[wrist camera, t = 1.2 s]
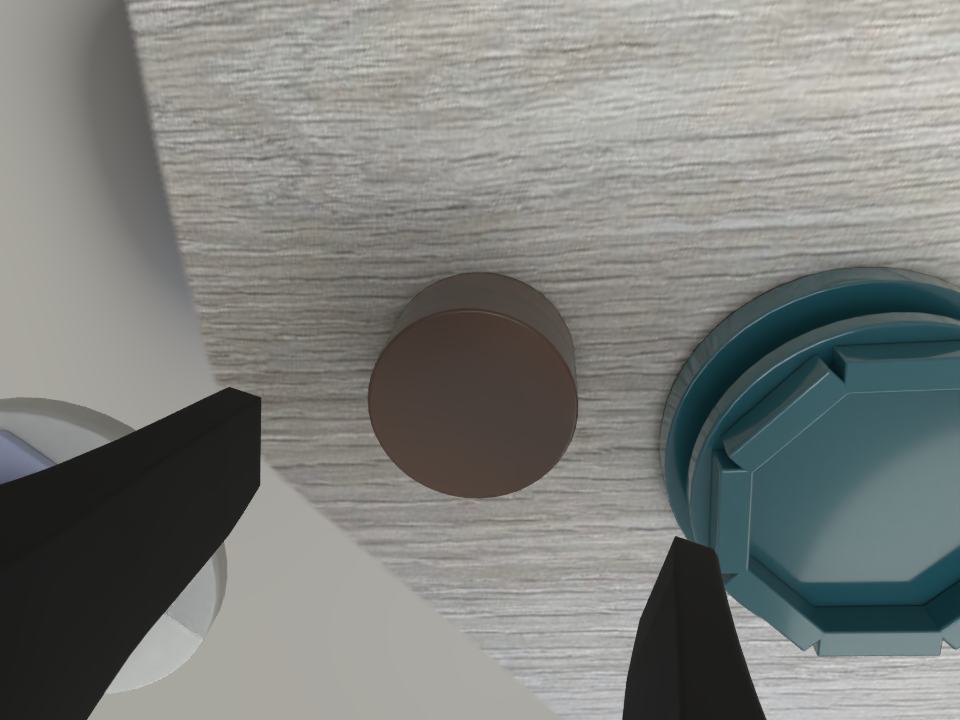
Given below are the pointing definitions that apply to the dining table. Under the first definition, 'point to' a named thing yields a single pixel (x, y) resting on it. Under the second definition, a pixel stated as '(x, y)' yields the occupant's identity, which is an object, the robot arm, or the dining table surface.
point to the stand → (829, 459)
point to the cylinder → (476, 387)
